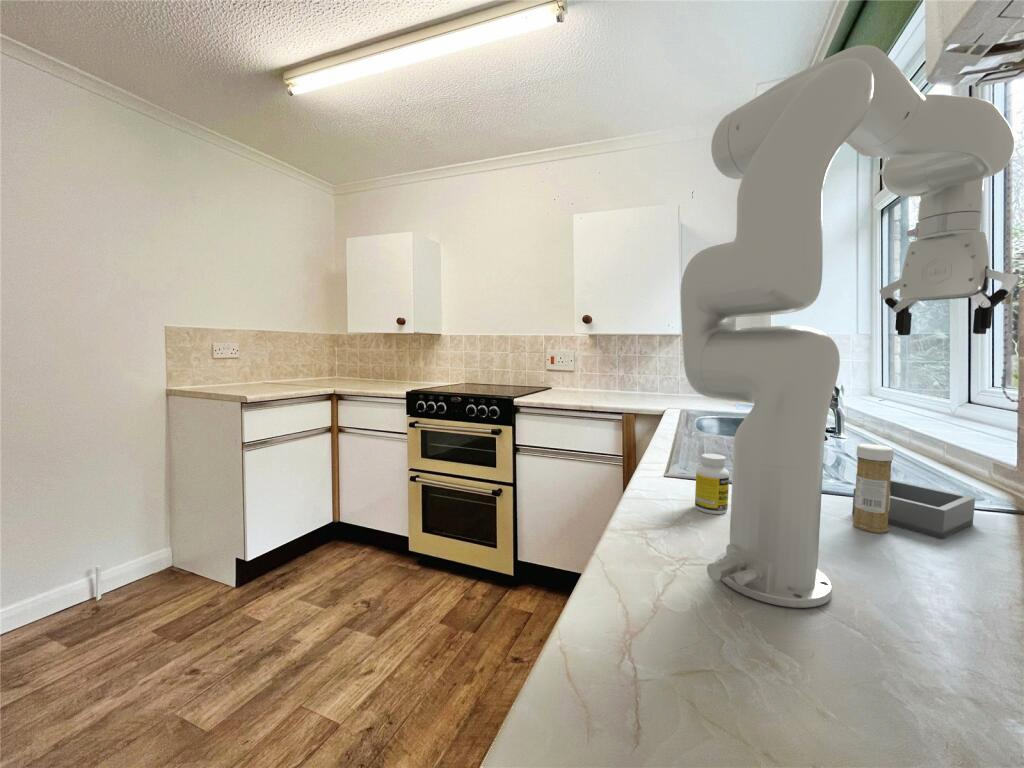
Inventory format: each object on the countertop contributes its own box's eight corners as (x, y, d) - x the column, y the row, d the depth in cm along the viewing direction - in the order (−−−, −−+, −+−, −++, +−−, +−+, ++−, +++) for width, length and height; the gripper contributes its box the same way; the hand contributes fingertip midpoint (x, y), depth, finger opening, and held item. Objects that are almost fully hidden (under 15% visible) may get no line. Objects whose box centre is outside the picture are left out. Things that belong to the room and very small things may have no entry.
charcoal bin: (942, 539, 69) (944, 510, 68) (852, 513, 79) (853, 488, 79) (972, 524, 74) (975, 497, 74) (885, 502, 85) (886, 478, 85)
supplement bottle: (721, 517, 78) (724, 461, 77) (690, 509, 81) (691, 456, 80) (731, 509, 82) (734, 455, 81) (701, 502, 85) (703, 450, 84)
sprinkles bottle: (892, 529, 72) (898, 446, 71) (881, 536, 70) (887, 450, 69) (858, 520, 76) (863, 441, 75) (847, 526, 74) (852, 445, 73)
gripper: (874, 238, 80) (868, 335, 82) (1016, 213, 65) (1005, 333, 66) (894, 242, 84) (887, 335, 85) (1033, 219, 69) (1022, 333, 70)
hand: (939, 334), depth 76 cm, fingers open, 9 cm apart
